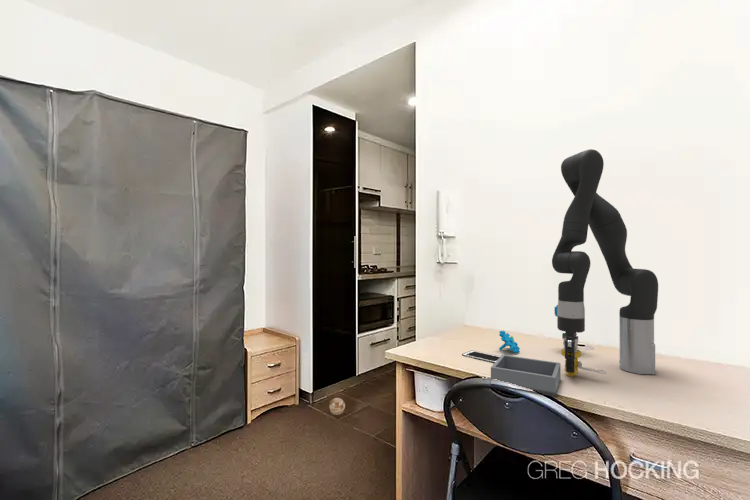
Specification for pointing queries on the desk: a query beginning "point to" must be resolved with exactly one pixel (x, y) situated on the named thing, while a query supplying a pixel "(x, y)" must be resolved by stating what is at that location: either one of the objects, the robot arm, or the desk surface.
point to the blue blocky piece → (508, 342)
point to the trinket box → (337, 406)
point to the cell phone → (481, 356)
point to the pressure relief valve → (578, 364)
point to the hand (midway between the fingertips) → (570, 368)
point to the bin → (528, 373)
